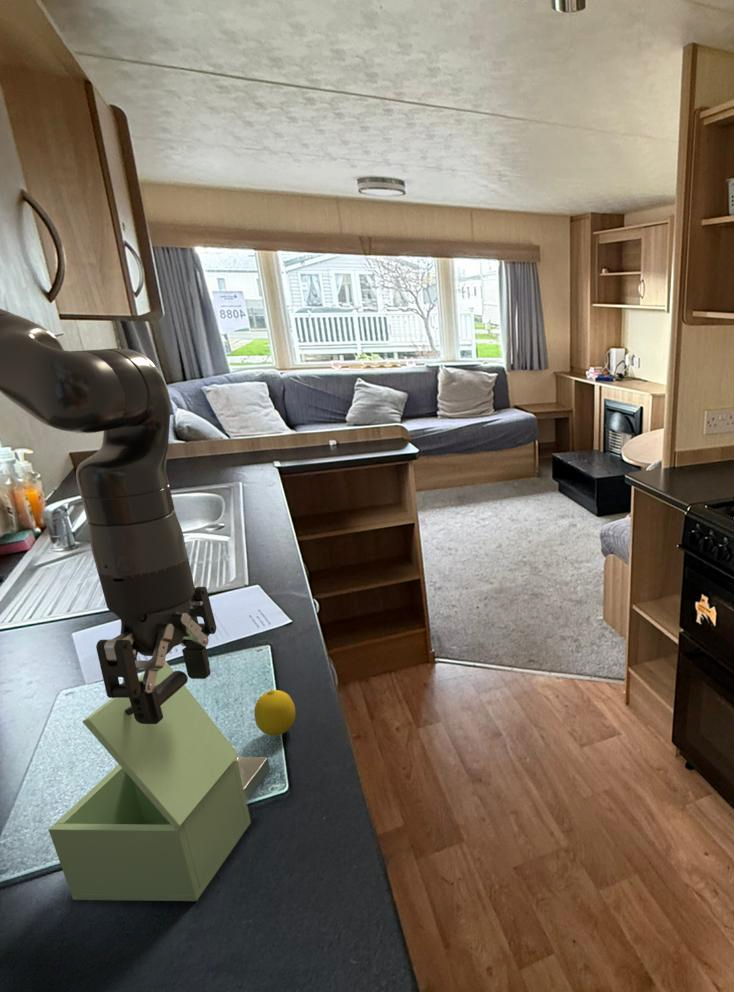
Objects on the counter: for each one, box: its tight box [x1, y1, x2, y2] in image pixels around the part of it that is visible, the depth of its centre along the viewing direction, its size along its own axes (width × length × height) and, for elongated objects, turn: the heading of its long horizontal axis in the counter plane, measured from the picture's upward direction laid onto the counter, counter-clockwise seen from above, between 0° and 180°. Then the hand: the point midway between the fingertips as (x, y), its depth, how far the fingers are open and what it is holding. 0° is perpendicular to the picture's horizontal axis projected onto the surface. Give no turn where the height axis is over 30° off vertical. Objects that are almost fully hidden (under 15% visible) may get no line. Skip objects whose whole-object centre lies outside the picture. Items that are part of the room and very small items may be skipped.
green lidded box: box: [48, 759, 252, 902], centre depth 76 cm, size 14×12×10 cm
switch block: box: [235, 755, 271, 803], centre depth 88 cm, size 11×8×4 cm
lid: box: [82, 660, 239, 828], centre depth 71 cm, size 15×12×5 cm
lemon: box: [254, 689, 296, 737], centre depth 99 cm, size 6×6×8 cm
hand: (176, 698), depth 70 cm, fingers open, 8 cm apart
